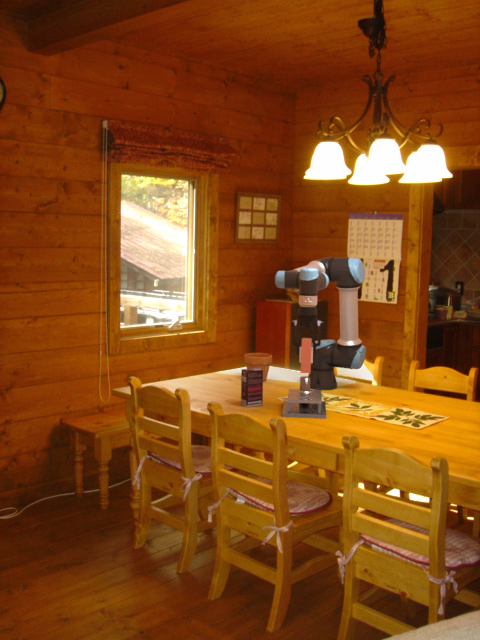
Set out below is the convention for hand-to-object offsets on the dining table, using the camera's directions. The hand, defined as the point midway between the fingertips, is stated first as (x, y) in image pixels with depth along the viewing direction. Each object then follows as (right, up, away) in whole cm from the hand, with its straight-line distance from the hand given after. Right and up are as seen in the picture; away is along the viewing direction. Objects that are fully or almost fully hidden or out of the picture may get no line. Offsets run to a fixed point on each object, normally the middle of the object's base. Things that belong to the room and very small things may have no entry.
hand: (305, 362), depth 300 cm
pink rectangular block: (0, -4, 0) cm, 4 cm away
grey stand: (0, -21, +8) cm, 23 cm away
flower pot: (-18, -13, +72) cm, 76 cm away
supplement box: (-22, -20, +16) cm, 34 cm away
